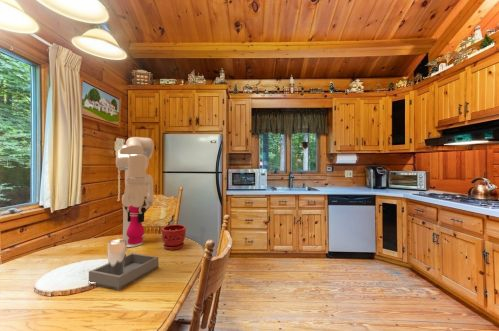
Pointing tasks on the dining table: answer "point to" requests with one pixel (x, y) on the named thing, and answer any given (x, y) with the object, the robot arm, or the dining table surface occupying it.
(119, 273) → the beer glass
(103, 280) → the tote
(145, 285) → the dining table surface
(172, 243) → the plant pot
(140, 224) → the pepper mill
